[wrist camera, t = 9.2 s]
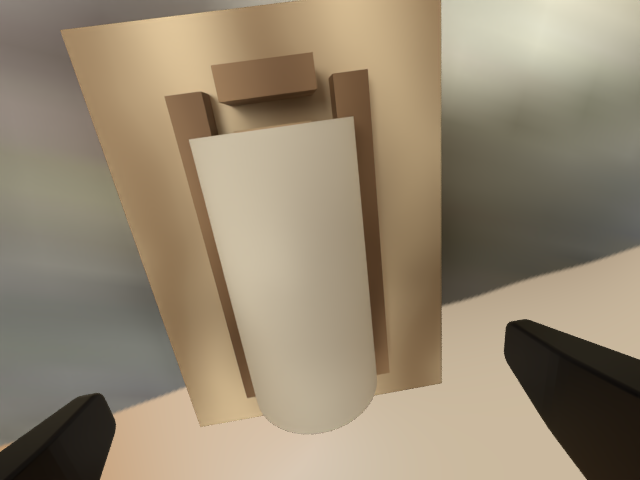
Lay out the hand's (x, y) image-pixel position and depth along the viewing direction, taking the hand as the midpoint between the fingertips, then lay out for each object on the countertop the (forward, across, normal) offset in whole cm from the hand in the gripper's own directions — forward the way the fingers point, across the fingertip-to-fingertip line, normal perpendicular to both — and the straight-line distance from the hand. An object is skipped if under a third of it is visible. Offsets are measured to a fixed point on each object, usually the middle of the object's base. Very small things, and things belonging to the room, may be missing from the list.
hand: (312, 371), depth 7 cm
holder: (+9, 0, 0) cm, 9 cm away
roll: (+8, 0, 0) cm, 8 cm away
